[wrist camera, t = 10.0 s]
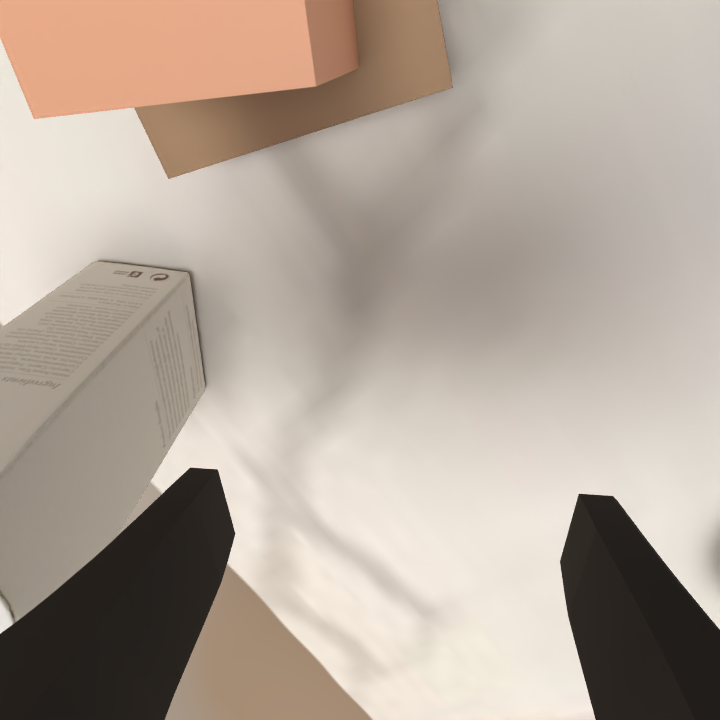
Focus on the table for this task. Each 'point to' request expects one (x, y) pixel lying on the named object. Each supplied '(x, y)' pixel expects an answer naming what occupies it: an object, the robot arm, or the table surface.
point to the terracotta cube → (171, 50)
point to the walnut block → (310, 92)
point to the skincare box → (87, 417)
